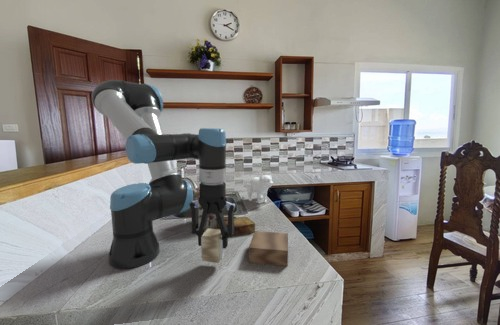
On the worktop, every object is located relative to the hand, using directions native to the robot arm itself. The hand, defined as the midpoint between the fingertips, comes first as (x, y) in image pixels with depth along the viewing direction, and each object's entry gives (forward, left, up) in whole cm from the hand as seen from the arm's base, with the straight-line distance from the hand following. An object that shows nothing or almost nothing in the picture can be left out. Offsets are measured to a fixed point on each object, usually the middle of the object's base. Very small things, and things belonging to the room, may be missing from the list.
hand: (213, 256), depth 70 cm
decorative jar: (-13, +31, -4) cm, 34 cm away
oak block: (0, 0, 0) cm, 0 cm away
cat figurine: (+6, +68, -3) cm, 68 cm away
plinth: (+17, +10, -3) cm, 19 cm away
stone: (+1, +26, -4) cm, 27 cm away
